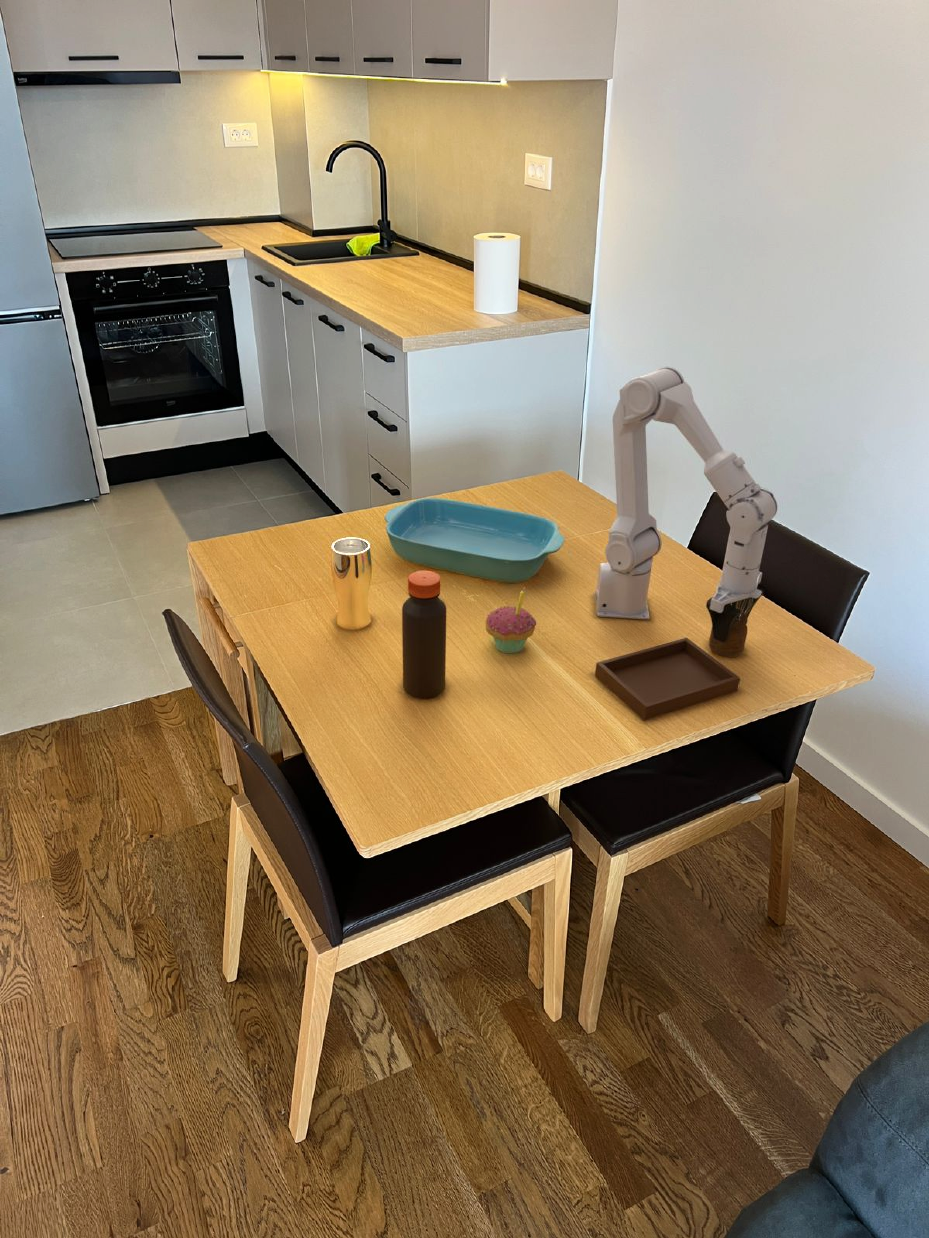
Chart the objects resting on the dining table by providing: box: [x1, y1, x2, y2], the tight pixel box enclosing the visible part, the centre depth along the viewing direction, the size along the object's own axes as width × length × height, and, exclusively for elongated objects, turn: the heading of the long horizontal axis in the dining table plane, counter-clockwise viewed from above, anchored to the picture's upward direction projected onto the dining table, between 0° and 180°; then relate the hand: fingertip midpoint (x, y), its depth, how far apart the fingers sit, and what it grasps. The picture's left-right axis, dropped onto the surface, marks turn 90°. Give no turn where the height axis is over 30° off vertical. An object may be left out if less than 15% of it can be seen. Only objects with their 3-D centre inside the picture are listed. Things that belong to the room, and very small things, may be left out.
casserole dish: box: [384, 497, 565, 584], centre depth 189 cm, size 37×22×7 cm, turn 70°
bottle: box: [401, 570, 447, 700], centre depth 146 cm, size 7×7×20 cm
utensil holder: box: [708, 598, 753, 658], centre depth 160 cm, size 6×6×12 cm
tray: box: [594, 637, 741, 721], centre depth 153 cm, size 19×14×3 cm
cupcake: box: [485, 587, 537, 654], centre depth 159 cm, size 9×8×12 cm
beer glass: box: [330, 537, 373, 631], centre depth 164 cm, size 7×7×15 cm
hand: (728, 632), depth 161 cm, fingers closed on utensil holder, 6 cm apart
